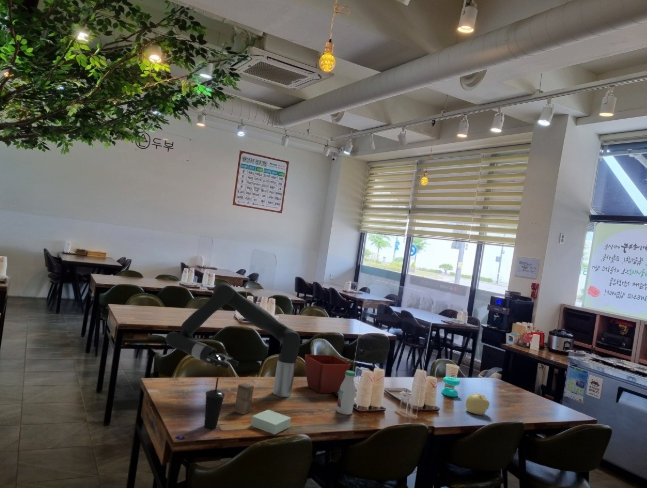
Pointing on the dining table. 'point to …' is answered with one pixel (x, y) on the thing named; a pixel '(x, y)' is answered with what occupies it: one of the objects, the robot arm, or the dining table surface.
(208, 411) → the drinking cup
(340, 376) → the plant pot
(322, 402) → the dining table surface
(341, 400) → the milk bottle
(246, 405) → the walnut block
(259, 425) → the base slab
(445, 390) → the donuts
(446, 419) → the dining table surface
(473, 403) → the pale yellow round lump
